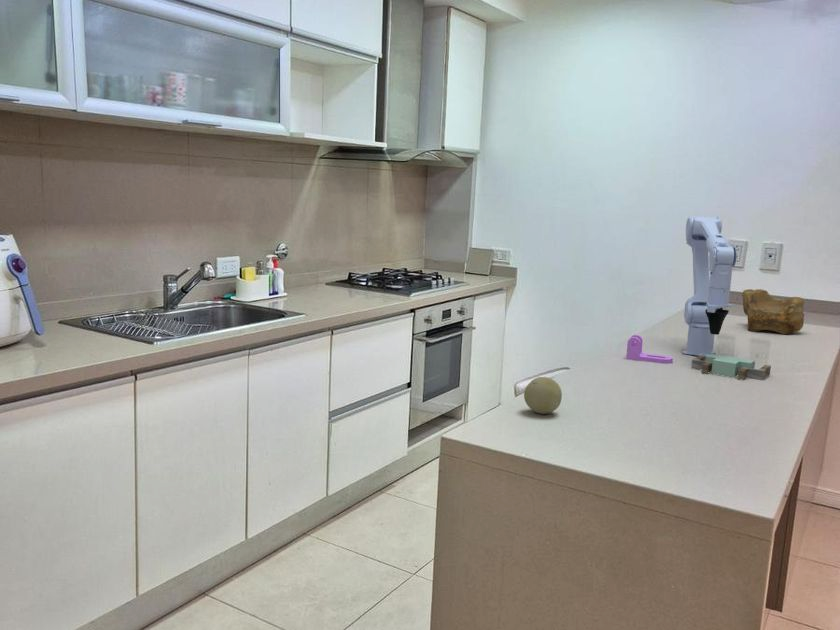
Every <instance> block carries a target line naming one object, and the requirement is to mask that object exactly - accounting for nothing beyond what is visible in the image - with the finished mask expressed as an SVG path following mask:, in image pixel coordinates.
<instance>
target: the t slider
mask: <svg viewBox="0 0 840 630" xmlns="http://www.w3.org/2000/svg"><path fill="white" fill-rule="evenodd" d="M705 361H708V362H713V363H712V371H711V373H714V374H719V375H718V376H720V375H724V376H723V377H726V376H729V377H728V378H732V377H735V376H736V377H738V376H737V375H738V370H739V369H741V368H742V367H745V368H752V369H755V364H756V360H753V359H746V358H742V357H741V358H740V357H734V356H729V355H728V356H727V355H722V354H721V355H719V354H716V353H715V354H710V355H707V356H706V360H705ZM714 374H713V375H714ZM736 377H735V378H736Z"/></svg>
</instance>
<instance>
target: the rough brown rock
mask: <svg viewBox="0 0 840 630" xmlns="http://www.w3.org/2000/svg"><path fill="white" fill-rule="evenodd" d="M741 297H742V308H743V313H744V314H745V315H746V316H747V331H751V332H758V331H764V330H765V331H773V332H776V333H779V334H782V335H790V334H794V333H798V332H800V331H801V330H802V329H803V327H804V323H805V322H804V320H805V314H804V303H805V301H804V298H803V297H801V296H800V297H799V296H792V297H790V298H787V299H785V300H782V299H780V298H775V297H773V296H771V294H770V293H769V292H768V291H767V290H765V289H761V288H760V289H759V288H758V289H755V290H754V289H753V288H750V289H744V290H743V291H742V293H741Z"/></svg>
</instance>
